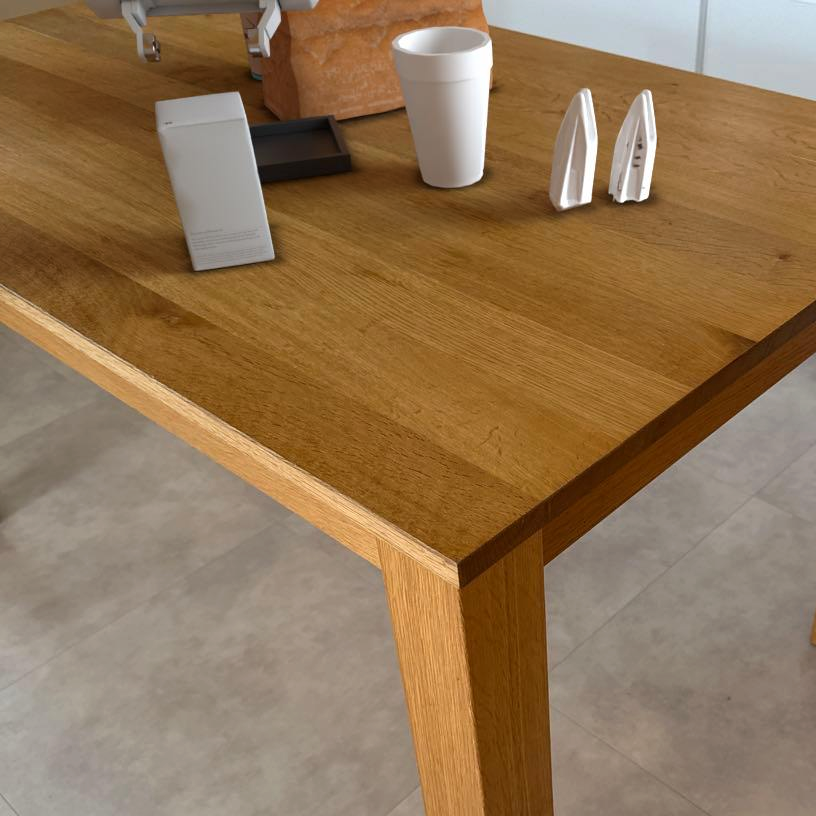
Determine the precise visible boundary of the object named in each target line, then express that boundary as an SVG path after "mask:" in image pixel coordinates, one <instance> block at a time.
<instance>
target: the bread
mask: <svg viewBox="0 0 816 816" xmlns="http://www.w3.org/2000/svg"><path fill="white" fill-rule="evenodd" d="M280 13H281V22H280V24H279V25H278V27H277V29H276V31H275V32H274V34H273V36H272V38H271V39H269V48H270V57H260V63H261V73H262V80H261V81H262V82H261V83H262V93H263V101H264V106H265V107H266V108H267V109H269V111H270V112H272V113H273V114H274V115H275V116H276V117H277V118H278V119H279V121H285V120H293V119H301V118H310V117H318V116H327V115H334V117H335V119H336V122H339V121H343V120H347V119H352V118H356V117H361V116H368V115H373V114H381V113H388V112H391V111H395V110H399V109H400V110H401V109H404V108H406V106H405V102H404V98H403V94H402V89H401V85H400V81H399V76H398V75H397V72H396V70H395V68H394V59H393V50H392V41H393V40H394V39H395V38H396V37H397V36H399V35H402V34H404V33H407V32H410V31H413V30H418V29H424V28H431V27H452V26H455V27H465V28H474V29H477V30H480V31H483V32H485V33H487V34H488V35H489V37H490V38H491V36H490V31H489V29H490V28H489V25H488V21H487V18H486V16H485V13H484V8H483V0H319V1H318V3H317V4H316V6H315V7H314V8H313V9H311V10H296V11H280ZM262 16H263V14H262V12H258V19H257V25H256V28H257V26H258V24H259V22H260V20H261V18H262ZM493 80H494V79H493V66H492V67H491V68H490V82H489V90H493V82H494V81H493Z"/></svg>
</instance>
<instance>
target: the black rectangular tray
mask: <svg viewBox="0 0 816 816" xmlns="http://www.w3.org/2000/svg"><path fill="white" fill-rule="evenodd" d="M248 126H249V131H250V136H251V141H252V146H253V150H254V155H255V160H256V165H257V170H258V175H259V180H260V184H266V183H273V182H280V181H289V180H296V179H297V180H298V179H303V178H310V177H319V176H326V175H333V174H340V173H341V174H342V173H348V172H353V167H352V158H351V153H350V151H349V149H348V146H347V144H346V141H345V139H344V136H343V134H342V132H341V129H340V127H339V124H338V121H336V119H335V117H334V115H327V116H318V117H310V118H301V119H293V120H285V121H281V120H277V121H270V122H261V123H253V124H248Z"/></svg>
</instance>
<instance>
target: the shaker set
mask: <svg viewBox="0 0 816 816" xmlns="http://www.w3.org/2000/svg"><path fill="white" fill-rule="evenodd" d="M568 105H569V106H568V108H567V111H566V113H565V115H564V117H563V119H562V122H561V124H560V127H559V130H558V133H557V135H556V138H555V142H554V147H553V155H552V161H551V162H552V165H551V172H550V173H551V174H550V181H549V182H550V183H549V193H548V194H549V195H548V196H549V199H550V201H551V203H552V206H553V207H555V210H556V211H557V212H563V211H568V210H571V209H574V208H578V207H582V206H585V205H587V204H590V203H591V202H592V197H593V196H592V195H593V185H594V178H595V170H596V161H597V152H598V132H597V124H596V117H595V110H594V103H593V98H592V93H591V90H590V89H589V88H585V87H583V88H581V89H580V90H579V91H578V92H576V93H575V94H574V96H573V97H572V99H571V101H570V103H569V104H568ZM656 149H657V127H656V117H655V110H654V103H653V96H652V92H651V90H649V89H643V90H642V91H641V92H640V93H638V94H637V95H636V96H635V98H634V99H633V102H632V103H631V105H630V108H629V109H628V112H627V114H626V116H625V118H624V121H623V123H622V124H621V127H620V129H619V132H618V134H617V137H616V140H615V144H614V149H613V151H614V152H613V157H612V162H611V169H610V177H609V184H608V192H607V193H608V194H609V195H612V196H613V197H612V201H613V202H615V201H616V202H617V203H624V202H625V201H630V200H631V201H635V202H642V201H644V200H647V199H648V198H649V195H650V188H651V182H652V177H653V170H654V164H655V157H656Z"/></svg>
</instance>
